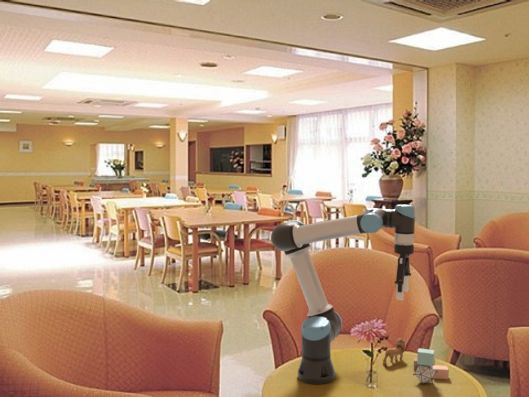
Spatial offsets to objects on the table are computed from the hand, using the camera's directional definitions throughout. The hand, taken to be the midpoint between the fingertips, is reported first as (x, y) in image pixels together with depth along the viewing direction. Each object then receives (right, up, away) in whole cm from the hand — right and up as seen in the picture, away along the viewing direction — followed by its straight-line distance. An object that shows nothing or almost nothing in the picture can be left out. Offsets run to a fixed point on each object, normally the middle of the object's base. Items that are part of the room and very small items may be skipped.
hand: (402, 295), depth 212 cm
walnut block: (+12, -33, +10) cm, 36 cm away
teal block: (+8, -26, -5) cm, 27 cm away
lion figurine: (+1, -32, +18) cm, 37 cm away
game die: (+8, -34, -4) cm, 35 cm away
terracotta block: (+16, -33, +1) cm, 37 cm away
